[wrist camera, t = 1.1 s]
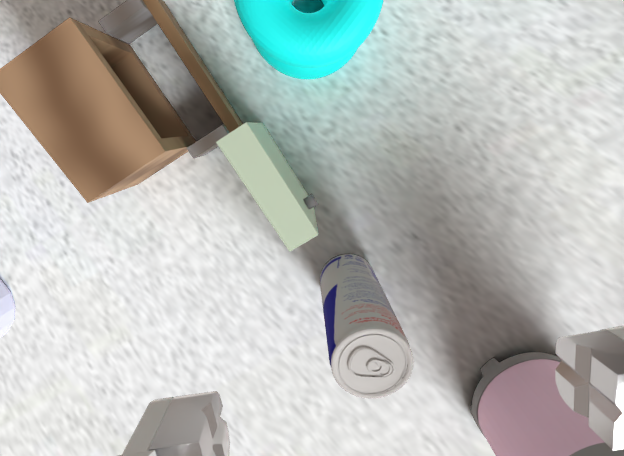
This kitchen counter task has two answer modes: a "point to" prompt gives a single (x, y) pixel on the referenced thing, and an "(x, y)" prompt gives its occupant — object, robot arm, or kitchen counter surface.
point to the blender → (531, 411)
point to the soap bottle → (6, 309)
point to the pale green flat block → (271, 183)
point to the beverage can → (362, 330)
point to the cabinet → (108, 100)
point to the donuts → (308, 33)
